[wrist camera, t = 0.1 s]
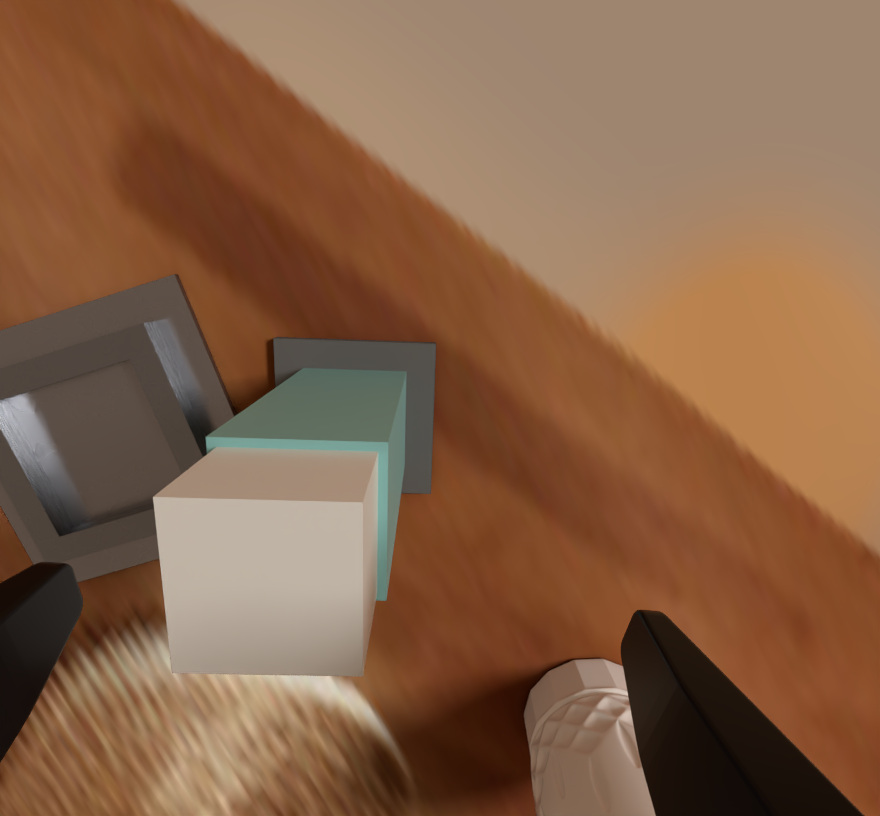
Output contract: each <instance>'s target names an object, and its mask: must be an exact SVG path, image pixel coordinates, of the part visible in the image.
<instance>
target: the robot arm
mask: <svg viewBox="0 0 880 816" xmlns="http://www.w3.org/2000/svg"><path fill="white" fill-rule="evenodd" d="M82 606H83V598H82V595H81V592H80V589H79V586H78V583H77V580H76V577H75V574H74V570H73V568H72V567H71V566H70V565H69V564H66V563H57V562H39V563H36V564H34V565H32V566H30V567H29V568H27V569H25V570H23V571H21V572H20V573H18V574H16V575H14V576H12V577H11V578H9V579H7V580H5V581H3V582H2V583H0V762H1V761H2V759H3V757H4V756H5V754H6V752H7V751H8V749H9V748H10V746H11V744H12V743H13V741H14V740H15V738H16V736H17V735H18V733H19V732H20V730H21V728H22V726H23V725H24V723H25V721H26V720H27V718H28V716H29V715H30V713H31V711H32V709H33V707H34V705H35V704H36V702H37V700H38V698H39V696H40V694H41V692H42V690H43V688H44V686H45V684H46V682H47V680H48V678H49V676H50V674H51V672H52V670H53V668H54V666H55V664H56V662H57V660H58V658H59V656H60V654H61V652H62V650H63V648H64V646H65V644H66V642H67V640H68V638H69V636H70V634H71V632H72V630H73V628H74V626H75V624H76V622H77V620H78V618H79V616H80V614H81V611H82ZM621 659H622V664H623V670H624V675H625V681H626V687H627V692H628V698H629V703H630V709H631V714H632V720H633V726H634V731H635V737H636V742H637V747H638V752H639V757H640V761H641V764H642V768H643V772H644V776H645V779H646V783H647V787H648V790H649V794H650V797H651V801H652V804H653V808H654V812H655V815H656V816H864V815H863V814H862V813H861V812H860V811H859V810H858V809H857V808H856V807H855V806H854V805H853V804H852V803H851V802H850V801H849V800H848V799H847V798H846V797H845V796H844V795H843V794H842V793H841V792H840V791H839V790H838V789H837V788H836V787H835V785H834V784H833V783H832V782H831V781H830V780H829V779H828V778H827V777H826V776H825V775H824V774H823V773H822V772H821V771H820V770H819V769H818V768H817V767H816V766H815V765H814V764H813V763H812V762H811V761H810V760H809V759H808V758H807V757H806V756H805V755H804V754H803V753H802V752H801V751H800V750H799V749H798V748H797V747H796V746H795V745H794V744H793V743H792V742H791V741H790V740H789V739H788V738H787V737H786V736H785V735H784V734H783V733H782V732H781V731H780V730H779V729H778V728H777V727H776V726H775V725H774V724H773V723H772V722H771V721H770V720H769V719H768V718H767V717H766V716H765V715H764V714H763V713H762V712H761V711H760V710H759V709H758V708H757V707H756V706H755V705H754V704H753V703H752V702H751V701H750V700H749V699H748V698H747V697H746V696H745V695H744V694H743V693H742V692H741V691H740V690H739V689H738V688H737V687H736V686H735V684H734V683H733V682H732V681H731V680H730V679H729V678H728V677H727V676H726V675H725V674H724V673H723V672H722V671H721V670H720V669H719V668H718V667H717V666H716V665H715V664H714V663H713V662H712V661H711V660H710V659H709V658H708V657H707V656H706V655H705V654H704V653H703V652H702V651H701V650H700V649H699V648H698V647H697V646H696V645H695V644H694V643H693V642H692V641H691V640H690V639H689V638H688V637H687V636H686V635H685V634H684V633H683V632H682V631H681V630H680V629H679V628H678V627H677V626H676V625H675V624H674V623H673V622H672V621H671V620H670V619H669V618H668V617H667V616H666V615H665V614H663V613H662V612H659V611H650V610H637V611H636V612H635V613H634V614H633V616H632V618H631V621H630V623H629V625H628V628H627V630H626V632H625V635H624V637H623V640H622V643H621Z"/></svg>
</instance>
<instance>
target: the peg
mask: <svg viewBox="0 0 880 816" xmlns="http://www.w3.org/2000/svg"><path fill="white" fill-rule="evenodd" d="M405 419H406V371H377V370H346V369H316V368H303V369H301V370H300V371H299V372H297V373H296V374H294V375H293V376H291V377H290V378H289V379H287V380H286V381H284V382H283V383H281V384H280V385H279V386H277V387H276V388H274V389H273V390H272V391H270V392H269V393H267V394H266V395H264V396H263V397H262V398H260V399H259V400H257V401H256V402H254V403H253V404H252V405H250V406H249V407H247V408H246V409H245V410H243V411H242V412H240V413H239V414H237V415H236V416H235V417H233V418H232V419H230V420H229V421H228V422H226V423H225V424H223V425H222V426H220V427H219V428H218V429H216V430H215V431H213V432H212V433H210V434H209V435H208V436H206V448H207V455H206V456H204V457H203V458H202V459H201V460H199V461H198V462H197V463H195V464H194V465H193V466H192V467H190V468H189V469H188V470H187V471H185V472H184V473H183V474H181V475H180V476H179V477H178V478H176V479H175V480H174V481H173V482H171V483H170V484H169V485H167V486H166V487H165V488H164V489H162V490H161V491H160V492H159V493H157V494H156V495H155V496H153V503H154V512H155V521H156V530H157V539H158V549H159V558H160V567H161V576H162V585H163V595H164V604H165V613H166V622H167V631H168V640H169V650H170V659H171V668H172V673H192V674H251V675H310V676H363V673H364V667H365V661H366V655H367V649H368V643H369V637H370V632H371V626H372V620H373V614H374V608H375V602H376V600H383V601H386V600H387V592H388V585H389V578H390V570H391V563H392V556H393V548H394V541H395V534H396V526H397V519H398V512H399V504H400V497H401V490H402V482H403V475H404V466H405Z"/></svg>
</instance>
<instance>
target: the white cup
mask: <svg viewBox="0 0 880 816" xmlns="http://www.w3.org/2000/svg"><path fill="white" fill-rule="evenodd" d="M524 720H525V726H526V732H527V738H528V744H529V751H530V757H531V778H532V787H533V794H534V801H535V811H536V816H656V815H655V812H654V808H653V804H652V801H651V797H650V794H649V790H648V787H647V783H646V779H645V776H644V772H643V768H642V764H641V761H640V757H639V752H638V747H637V742H636V737H635V731H634V726H633V720H632V714H631V709H630V703H629V698H628V692H627V687H626V681H625V675H624V670H623V666H621V665H618V664H616V663H613V662H610V661H608V660H605V659H579V660H572V661H570V662H568V663H566V664H563V665H561V666H559V667H557V668H554V669H552V670H550V671H548V672H547V673H546V674H545V675H544V676H543V677H542V678H541V680H540V681H539V682H538V683H537V684H536V685H535V686H534V687H533V688H532V689H531V690H530V693H529V697H528V700H527V704H526V707H525V711H524Z"/></svg>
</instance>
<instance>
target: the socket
mask: <svg viewBox="0 0 880 816" xmlns="http://www.w3.org/2000/svg"><path fill="white" fill-rule="evenodd" d="M235 416H236V412H235V410H234V407H233V405H232V403H231V400H230V398H229V396H228V393H227V391H226V388H225V386H224V384H223V381H222V379H221V376H220V374H219V372H218V369H217V367H216V364H215V362H214V360H213V357H212V355H211V352H210V350H209V348H208V345H207V343H206V341H205V338H204V336H203V333H202V331H201V329H200V326H199V324H198V321H197V319H196V317H195V314H194V312H193V309H192V307H191V305H190V302H189V300H188V298H187V295H186V293H185V290H184V288H183V286H182V283H181V281H180V278H179V276H178V274H174V275H171V276H168V277H165V278H162V279H159V280H156V281H152V282H149V283H146V284H143V285H140V286H137V287H134V288H131V289H128V290H125V291H122V292H118V293H115V294H112V295H109V296H106V297H103V298H100V299H97V300H94V301H91V302H87V303H84V304H81V305H78V306H75V307H72V308H69V309H66V310H63V311H60V312H57V313H53V314H50V315H47V316H44V317H41V318H38V319H35V320H32V321H29V322H26V323H23V324H19V325H16V326H13V327H10V328H7V329H4V330H1V331H0V506H1V508H2V509H3V511H4V513H5V515H6V516H7V518H8V520H9V522H10V524H11V525H12V527H13V529H14V531H15V532H16V534H17V536H18V538H19V539H20V541H21V543H22V545H23V547H24V548H25V550H26V552H27V554H28V555H29V557H30V559H31V561H32V562H33V564H36V563H39V562H57V563H66V564H69V565H70V566H71V567H72V568H73V570H74V574H75V577H76V580H77V582H81V581H84V580H87V579H91V578H94V577H98V576H101V575H105V574H108V573H111V572H115V571H118V570H122V569H125V568H129V567H132V566H135V565H139V564H142V563H146V562H149V561H153V560H156V559H160V558H159V549H158V539H157V530H156V521H155V512H154V503H153V496H155V495H156V494H157V493H159V492H160V491H161V490H162V489H164V488H165V487H166V486H167V485H169V484H170V483H171V482H173V481H174V480H175V479H176V478H178V477H179V476H180V475H181V474H183V473H184V472H185V471H187V470H188V469H189V468H190V467H192V466H193V465H194V464H195V463H197V462H198V461H199V460H201V459H202V458H203V457H204V456H206V455H207V448H206V436H208V435H209V434H210V433H212V432H213V431H215V430H216V429H218V428H219V427H220V426H222V425H223V424H225V423H226V422H228V421H229V420H230V419H232V418H233V417H235Z"/></svg>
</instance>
